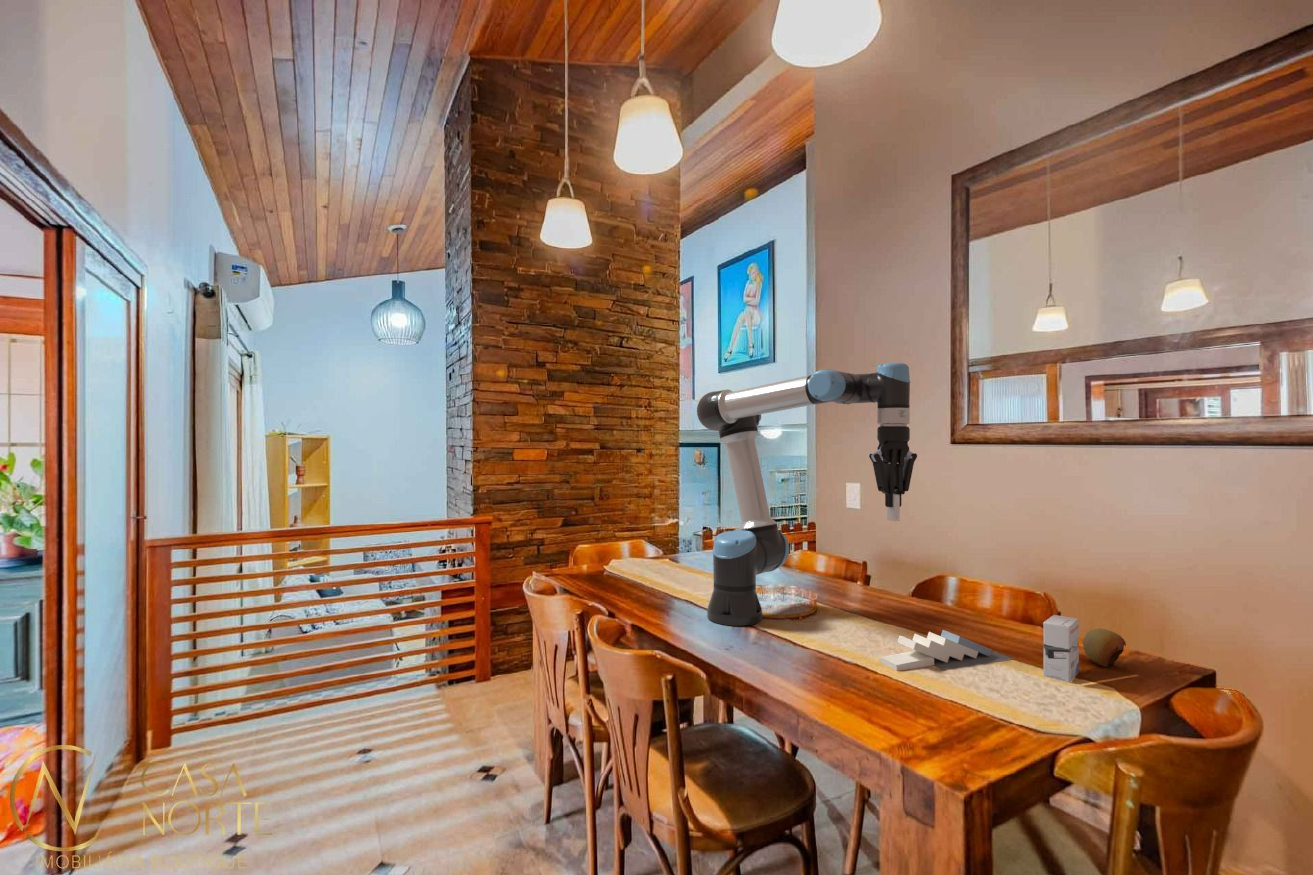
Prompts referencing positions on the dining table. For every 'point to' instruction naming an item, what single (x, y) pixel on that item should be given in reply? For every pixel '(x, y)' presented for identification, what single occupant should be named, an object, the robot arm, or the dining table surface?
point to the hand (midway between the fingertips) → (893, 520)
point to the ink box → (1061, 648)
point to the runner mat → (970, 661)
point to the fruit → (1103, 646)
